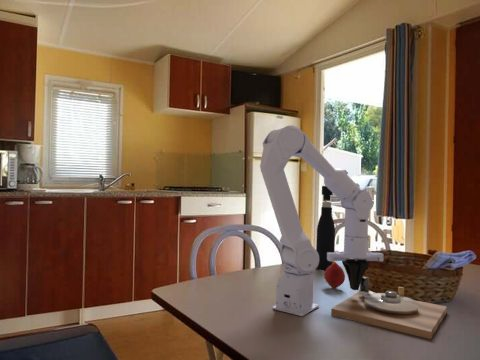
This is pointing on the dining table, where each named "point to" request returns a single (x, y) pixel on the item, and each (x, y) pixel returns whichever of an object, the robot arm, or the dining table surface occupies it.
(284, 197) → the robot arm
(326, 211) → the wine bottle
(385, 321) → the base board
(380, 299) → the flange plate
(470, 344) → the dining table surface
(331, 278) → the red oval fruit
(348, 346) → the dining table surface
